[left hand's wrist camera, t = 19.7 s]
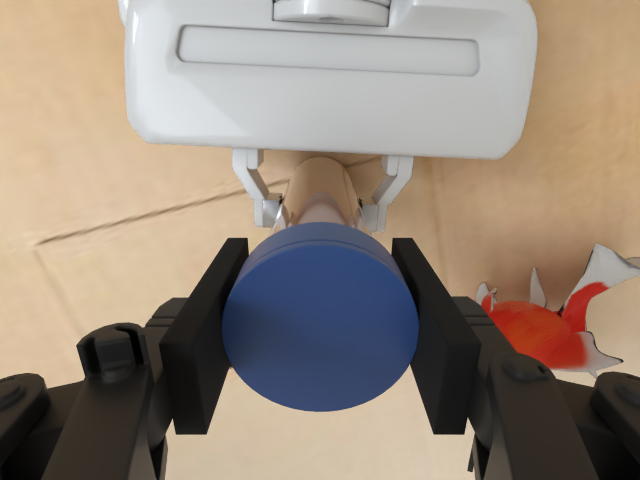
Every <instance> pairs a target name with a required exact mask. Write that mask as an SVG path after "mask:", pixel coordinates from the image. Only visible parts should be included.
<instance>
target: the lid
mask: <svg viewBox="0 0 640 480" xmlns="http://www.w3.org/2000/svg"><path fill="white" fill-rule="evenodd" d="M221 328H222V337H223V345H224V349H225V352H226V355H227V357H228V359H229V361H230V364H231V365H232V367H233V368H234V370H235V371H236V373H237V374H238V375H239V376H240V378H241V379H242V380H243V381H244V382H245V383H246V384H247V385H248V386H249V387H251V388H252V389H253V390H254V391H256V392H257V393H259V394H260V395H262V396H263V397H265V398H267V399H269V400H271V401H273V402H275V403H278V404H280V405H283V406H286V407H290V408H293V409H298V410H304V411H314V412H328V411H337V410H343V409H347V408H352V407H355V406H358V405H361V404H363V403H365V402H368V401H370V400H372V399H374V398H376V397H377V396H379V395H381V394H382V393H384V392H385V391H386V390H388V389H389V388H390V387H391V386H392V385H393V384H394V383H395V382H397V381H398V380H399V379H400V377H401V376H402V375H403V373H404V372H405V371H406V370H407V368H408V366H409V364H410V363H411V361H412V359H413V356H414V354H415V351H416V348H417V340H418V331H419V316H418V312H417V308H416V305H415V302H414V300H413V297H412V295H411V293H410V291H409V288H408V286H407V284H406V282H405V280H404V278H403V276H402V273H401V271H400V269H399V267H398V265H397V263H396V262H395V260H394V258H393V257H392V256H391V254H390V253H389V252H388V251H387V250H386V249H385V248H384V247H383V246H382V245H381V244H380V243H379V242H378V241H376V240H375V239H374V238H372V237H371V236H369V235H368V234H366V233H364V232H362V231H360V230H358V229H355V228H352V227H350V226H347V225H342V224H338V223H330V222H310V223H303V224H298V225H295V226H291V227H288V228H285V229H283V230H281V231H278V232H276V233H275V234H273V235H271V236H270V237H268V238H267V239H265V240H264V241H263V242H262V243H260V244H259V245H258V246H257V247H256V248H255V249H254V250H253V251H252V252H251V254H250V255H249V257H248V258H247V259H246V261H245V263H244V265H243V267H242V268H241V270H240V273H239V275H238V277H237V279H236V281H235V283H234V285H233V288H232V290H231V292H230V294H229V296H228V298H227V301H226V304H225V307H224V310H223V315H222V321H221Z"/></svg>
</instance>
